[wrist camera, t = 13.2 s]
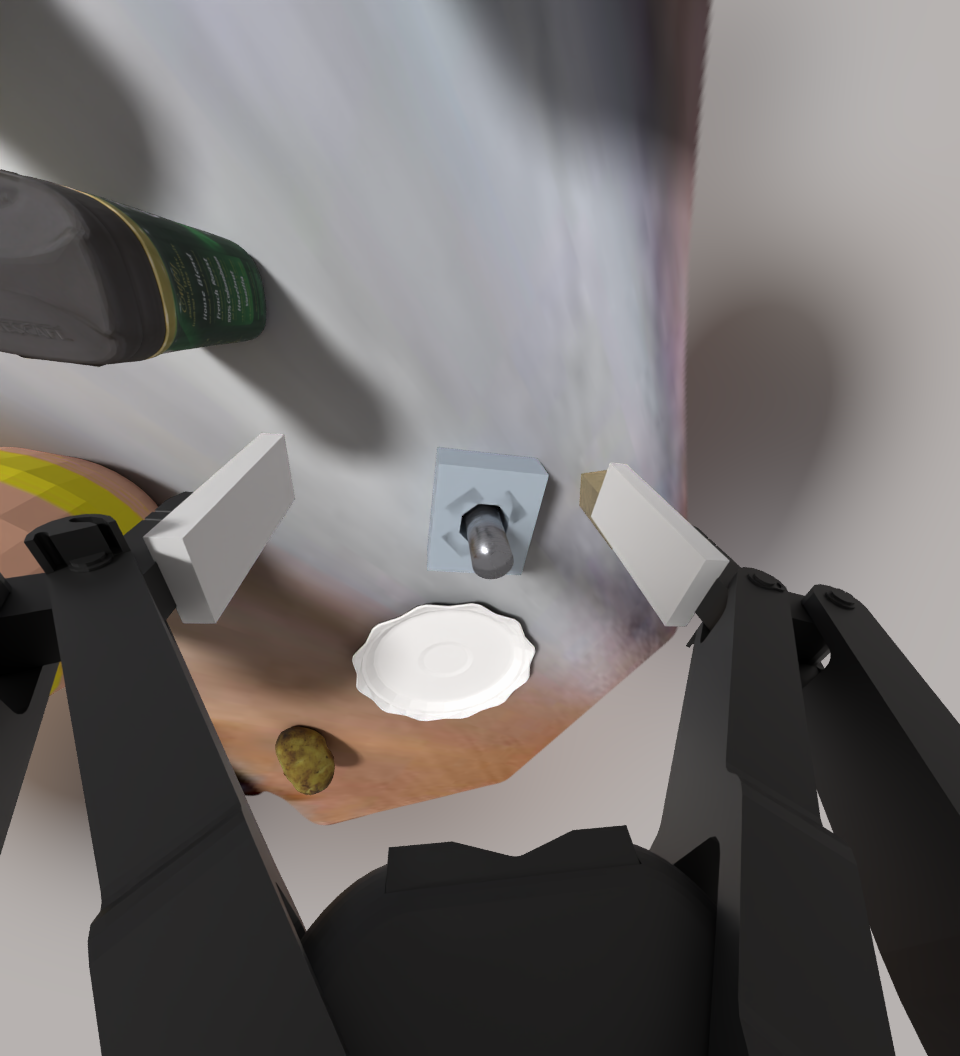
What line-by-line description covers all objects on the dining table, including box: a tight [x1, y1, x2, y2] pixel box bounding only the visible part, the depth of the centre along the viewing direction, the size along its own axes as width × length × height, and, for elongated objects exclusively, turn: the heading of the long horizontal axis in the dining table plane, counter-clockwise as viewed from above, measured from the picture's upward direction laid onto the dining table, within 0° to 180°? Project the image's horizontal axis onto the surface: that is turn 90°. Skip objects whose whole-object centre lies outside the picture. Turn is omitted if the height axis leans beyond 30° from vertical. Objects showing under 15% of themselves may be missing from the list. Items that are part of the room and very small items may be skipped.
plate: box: [352, 603, 535, 721], centre depth 60 cm, size 29×29×2 cm
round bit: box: [464, 504, 514, 579], centre depth 41 cm, size 4×4×12 cm
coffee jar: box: [0, 169, 266, 367], centre depth 23 cm, size 10×8×19 cm
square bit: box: [580, 470, 613, 549], centre depth 42 cm, size 5×5×10 cm
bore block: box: [427, 447, 549, 575], centre depth 44 cm, size 14×12×5 cm
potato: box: [275, 727, 335, 795], centre depth 65 cm, size 8×13×8 cm, turn 5°
